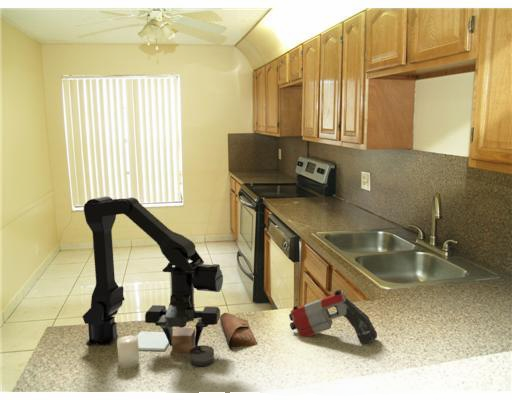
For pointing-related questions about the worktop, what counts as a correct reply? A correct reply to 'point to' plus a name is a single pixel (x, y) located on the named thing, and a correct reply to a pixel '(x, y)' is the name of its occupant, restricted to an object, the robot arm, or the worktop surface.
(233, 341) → the sunglasses case
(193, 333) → the walnut cube
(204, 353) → the black tin
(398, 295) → the worktop surface
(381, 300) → the worktop surface
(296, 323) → the toy gun
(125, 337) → the stoneware jar
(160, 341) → the tile
